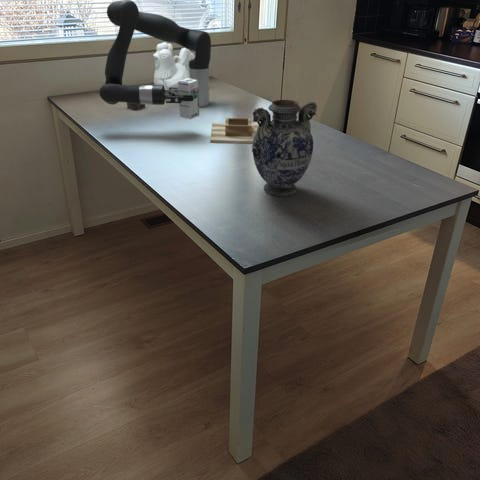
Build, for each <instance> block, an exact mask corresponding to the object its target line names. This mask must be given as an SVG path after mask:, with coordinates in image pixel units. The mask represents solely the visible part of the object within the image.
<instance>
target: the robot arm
mask: <svg viewBox="0 0 480 480" xmlns="http://www.w3.org/2000/svg"><path fill="white" fill-rule="evenodd" d="M106 15H107V18H108V19H109V21H110V22H111V24H113V25H114V26H117V27H119V28H118V32H117V35H116V37H115V40H114V42H113V43H112V45H111V47H110V50H109V51H108V54H107V58H106V63H105V68H104V75H105V82H104V83H105V84H103V85H102V86H101V87H100V89H99V92H98V93H99V96H100V99H102V101H103V102H105V103H107V104H108V105H112V106H113V105H116V104H118V103H126V104H127V103H130V104H145V106H146V105H148V106H149V105H151V106H153V105H154V106H162V105H163V106H164V105H165V104H179V103H181V102H183V101H193V95H180V94H179V91H178V87H169V90H165V87H164V86H163V85H154V84H143V85H134V84H133V85H126V84H123V77H124V72H125V66H126V60H127V56H128V51H129V48H130V45H131V43H132V42H131V41H132V39H133V36H134V33H135V31H137V32H140V33H142V34H144V35H147V36H150V37H151V38H154V39H157V40H161V41H163V42H166V43H174V44H177V45H178V46H181V47H182V48H186V49H188V50H190V52H195V53H194V55H195V58H194V59H192V60H190V61H189V78H191V79H196V80H198V94H199V108H204V107H207V106H209V105H210V69H209V68H210V62H211V53H212V52H211V50H212V39H211V36H210V34H209V33H208V32H206V31H204V30H199V29H191V28H186V27H182V26H180V25H179V24H177V23H176V21H174V20H173V19H171V18H169V17H167V16H163V15H162V14H161V15H160V14H157V13H156V14H155V13H151V12H144V11H139V7H138V5H137V3H136V2H135V1H133V0H116V1H115V0H114V1H112V2H111V3H110V4H109V5H108V6H107V9H106Z"/></svg>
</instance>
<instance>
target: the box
mask: <svg viewBox="0 0 480 480" xmlns="http://www.w3.org/2000/svg"><path fill="white" fill-rule="evenodd" d="M126 105H127V106H126V107H127V109H131V110H136V111H139V110H142V109H144V108H146V104H130V103H127V102H126Z"/></svg>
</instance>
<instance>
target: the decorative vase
mask: <svg viewBox="0 0 480 480" xmlns="http://www.w3.org/2000/svg"><path fill="white" fill-rule="evenodd" d="M317 107H318V105H317V104H316V102H313V101H307V102H306V103H305V104H304V105H303V106H300V105H299V102H297V101H295V100H291V99H278V100H277V99H276V100H273V101H272V103H271V104H270V105H269V106H268V109H265V108H264V107H258V108H255V109H254V110H253V112H252V117H253V118H252V123H257V124H258V125H259V126H258V128H257V131H256V133H255V135H254V139H253V143H252V145H251V152H252V156H253V162H254V166H255V168H256V170H257V173H258V174H259V175H260V177H261V178H262V179H263V181H264V182H266V183H265V184H264V185H263V191H264V192H265V193H267V194H268V195H272V196H276V197H287V196H292V195H294V194H295V193H296V192H297V186H296V183H298V182H299V181H300V180H301V179H302V177H303V176H304V175H305V173H306V171H307V170H308V168H309V167H310V166H309V165H310V163H311V160H312V157H313V153H314V139H313V137H314V136H313V135H312V133H311V128H312V127H311V122H310V120H312V118H313V117H314V116H316V115H317ZM268 110H269V111H271V112H272V117H271V113H270V112H269V111H268ZM297 114H298V116H297Z"/></svg>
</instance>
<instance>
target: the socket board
mask: <svg viewBox="0 0 480 480" xmlns="http://www.w3.org/2000/svg"><path fill="white" fill-rule="evenodd" d="M258 126H259V125H258V123H257V122H252V118H250V117H249V118H246V117H225V122H212V123H211V128H210V129H211V131H210V137H209V139H210V140H209V141H210V142H209V143H210V144H211V143H212V144H213V143H215V144H219V143H220V144H253V139H254V135H255V133H256V131H257V128H258Z"/></svg>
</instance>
